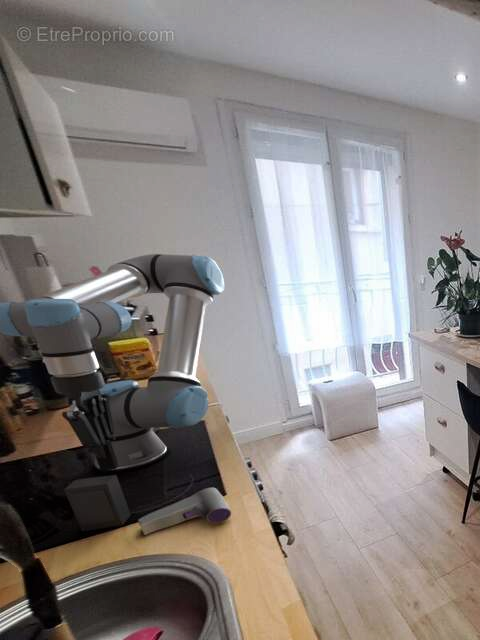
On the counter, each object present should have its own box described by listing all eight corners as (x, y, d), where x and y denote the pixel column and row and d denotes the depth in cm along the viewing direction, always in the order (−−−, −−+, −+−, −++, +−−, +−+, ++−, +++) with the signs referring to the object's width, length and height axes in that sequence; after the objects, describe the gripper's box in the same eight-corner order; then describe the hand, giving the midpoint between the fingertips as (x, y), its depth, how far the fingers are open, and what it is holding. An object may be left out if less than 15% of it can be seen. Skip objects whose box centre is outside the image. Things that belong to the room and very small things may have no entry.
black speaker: (92, 521, 94) (75, 479, 90) (131, 515, 96) (116, 474, 93) (81, 532, 90) (63, 489, 86) (122, 526, 93) (106, 484, 89)
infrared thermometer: (142, 530, 93) (220, 498, 103) (154, 555, 86) (236, 518, 96) (134, 514, 91) (214, 483, 102) (146, 538, 84) (230, 503, 95)
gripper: (70, 365, 93) (104, 458, 101) (30, 382, 81) (72, 485, 89) (113, 363, 95) (142, 453, 103) (80, 379, 84) (116, 479, 92)
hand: (110, 468), depth 96 cm, fingers closed
